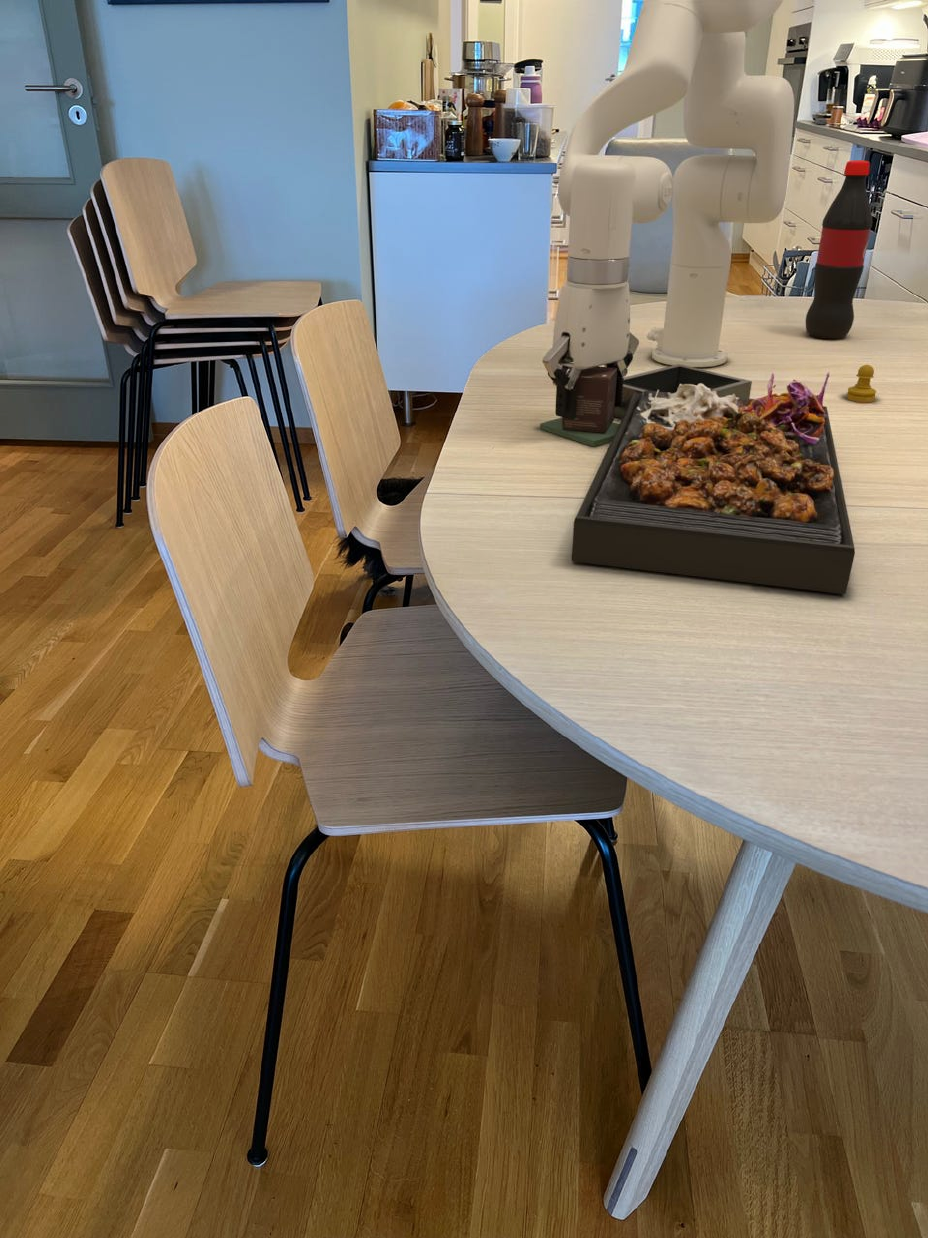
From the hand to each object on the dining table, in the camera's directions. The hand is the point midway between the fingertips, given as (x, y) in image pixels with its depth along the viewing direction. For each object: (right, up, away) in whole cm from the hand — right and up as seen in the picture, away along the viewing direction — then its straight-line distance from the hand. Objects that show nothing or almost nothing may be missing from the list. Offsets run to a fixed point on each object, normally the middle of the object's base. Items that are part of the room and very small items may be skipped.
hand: (588, 410), depth 122 cm
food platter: (+12, -14, -19) cm, 26 cm away
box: (0, -2, +1) cm, 2 cm away
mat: (0, -3, +1) cm, 3 cm away
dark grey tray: (+14, +2, +9) cm, 16 cm away
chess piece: (+43, +5, +15) cm, 46 cm away
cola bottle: (+52, +26, +53) cm, 79 cm away
